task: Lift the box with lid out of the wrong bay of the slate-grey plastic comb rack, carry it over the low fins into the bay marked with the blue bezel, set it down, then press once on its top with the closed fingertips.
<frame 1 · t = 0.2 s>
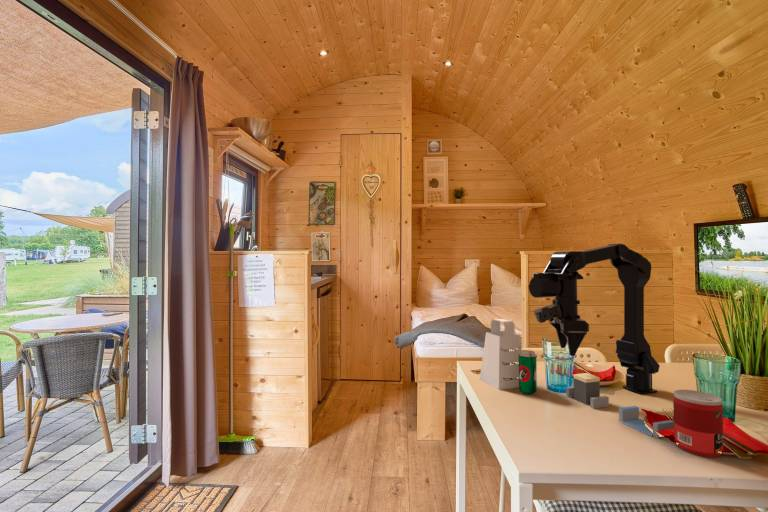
hand: (567, 351, 110), 13 cm above the table, tool pointing down, fingers open, 9 cm apart
canned food: (697, 449, 81), on the table
grater: (502, 383, 126), on the table
comb rack: (613, 413, 100), on the table
soda can: (527, 392, 117), on the table
box with lid: (586, 401, 109), on the table
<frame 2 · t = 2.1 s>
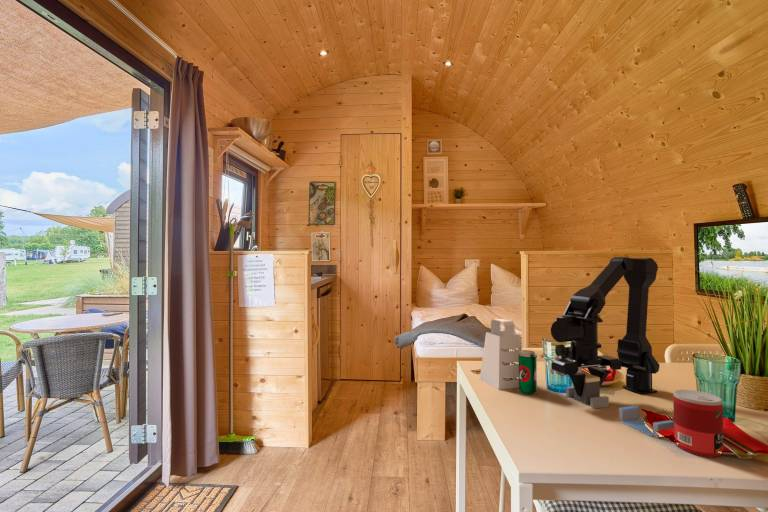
hand: (586, 395, 109), 2 cm above the table, tool pointing down, fingers closed on box with lid, 4 cm apart
box with lid: (586, 401, 109), on the table, touching gripper
everything else where it was.
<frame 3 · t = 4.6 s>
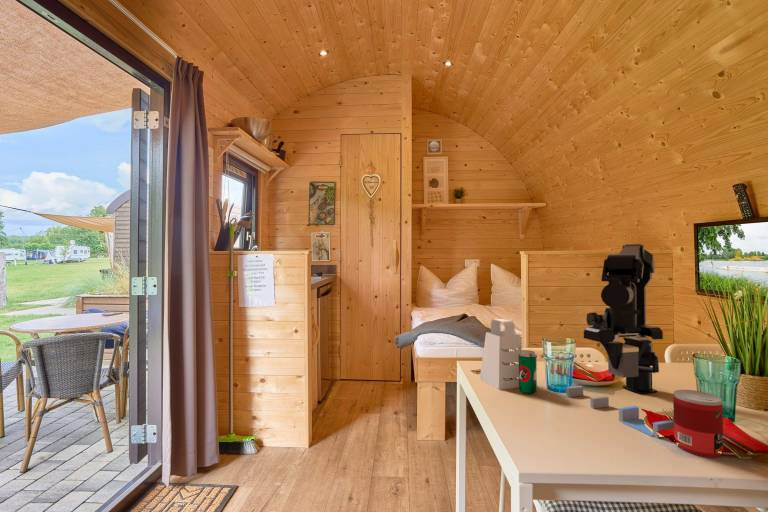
hand: (623, 368, 97), 12 cm above the table, tool pointing down, fingers closed on box with lid, 4 cm apart
box with lid: (623, 374, 97), point 11 cm above the table, touching gripper
everything else where it was.
when the fingers open (3 cm above the table, at t = 7.1 s): box with lid drops 1 cm, resting on comb rack.
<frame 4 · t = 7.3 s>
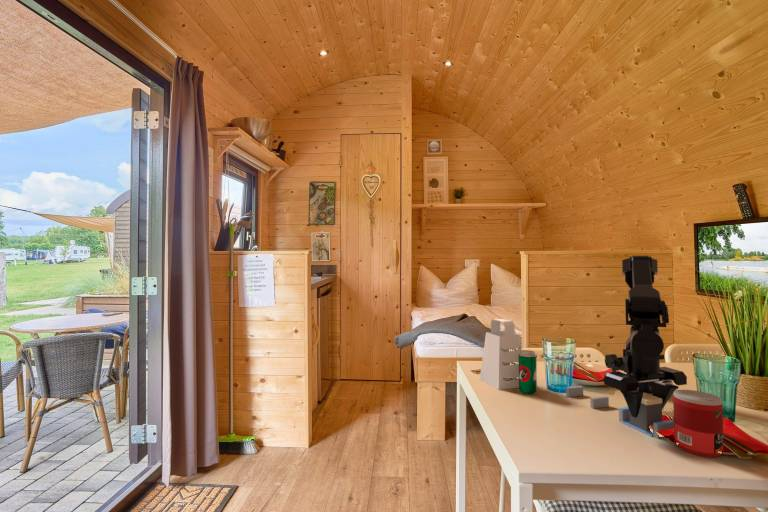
hand: (645, 415, 92), 3 cm above the table, tool pointing down, fingers open, 6 cm apart
box with lid: (645, 426, 92), resting on comb rack
everything else where it was.
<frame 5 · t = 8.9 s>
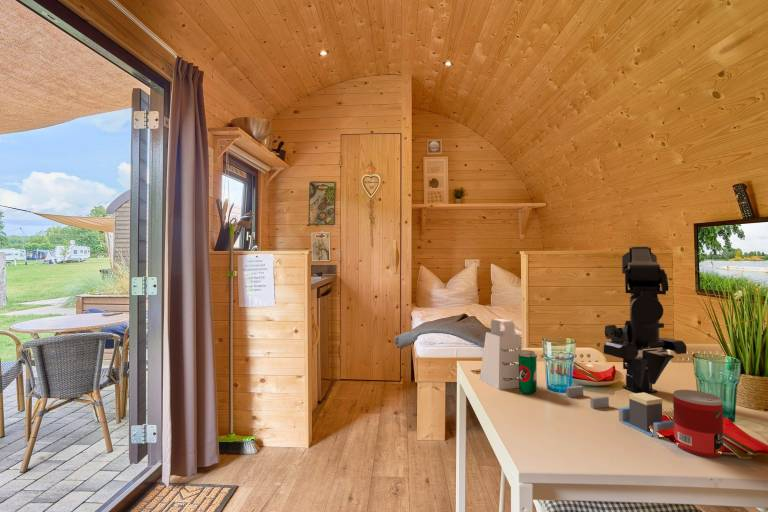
hand: (645, 384, 92), 10 cm above the table, tool pointing down, fingers open, 4 cm apart
nothing on the table moved.
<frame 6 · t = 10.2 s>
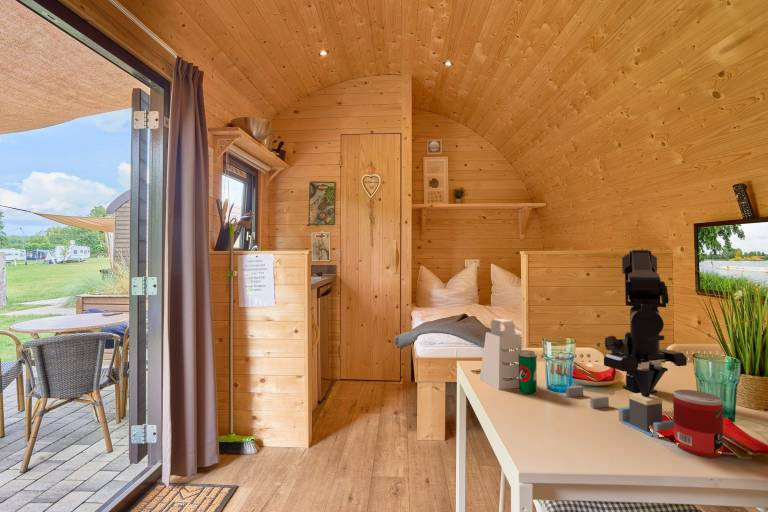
hand: (645, 396, 92), 7 cm above the table, tool pointing down, fingers closed, pressing on box with lid
box with lid: (645, 426, 92), resting on comb rack, touching gripper
everything else where it was.
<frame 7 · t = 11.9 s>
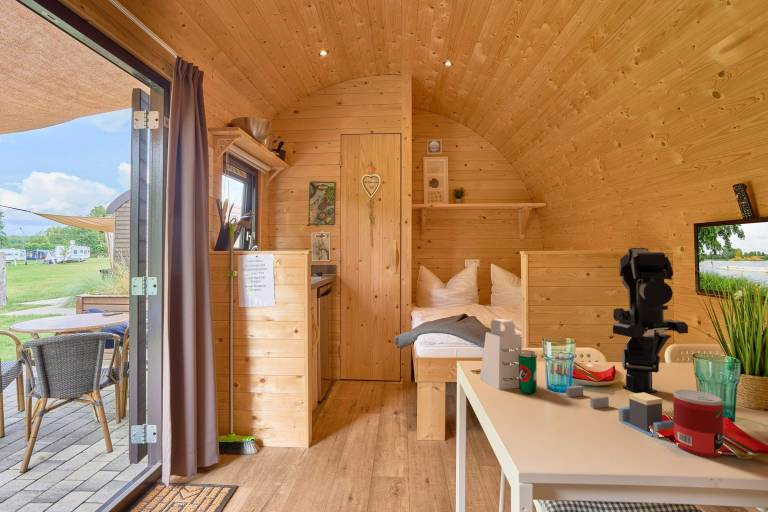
hand: (650, 361, 101), 13 cm above the table, tool pointing down, fingers closed
box with lid: (645, 426, 92), resting on comb rack
everything else where it was.
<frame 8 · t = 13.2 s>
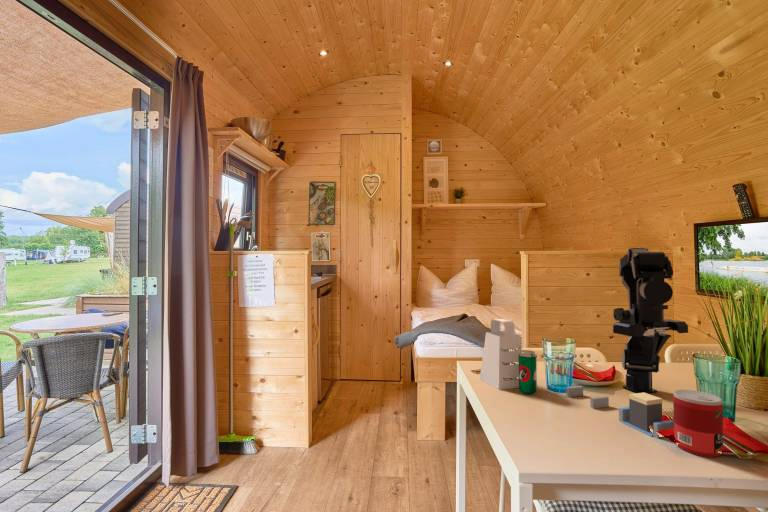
hand: (650, 361, 101), 13 cm above the table, tool pointing down, fingers closed
nothing on the table moved.
at the end: box with lid inside the target area (0.0 cm from its centre), resting on comb rack; box with lid tilted 0°; the gripper is holding nothing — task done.
